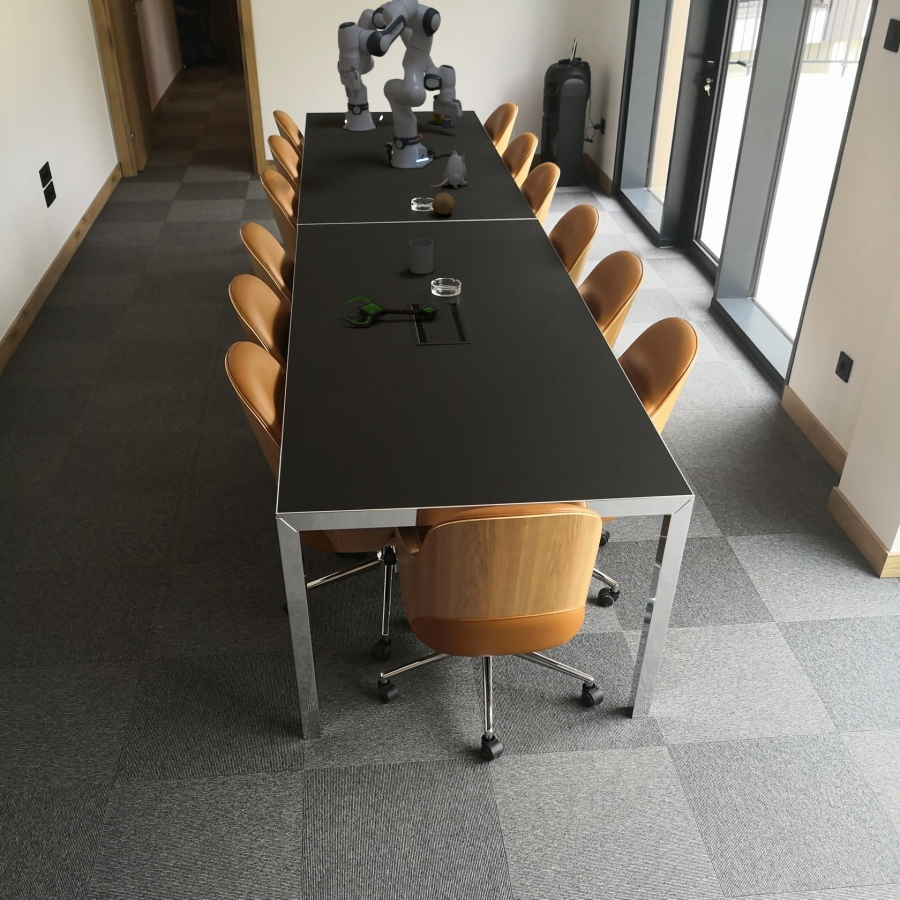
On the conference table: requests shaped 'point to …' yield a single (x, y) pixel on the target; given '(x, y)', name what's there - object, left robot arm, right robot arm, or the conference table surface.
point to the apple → (439, 118)
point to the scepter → (384, 311)
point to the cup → (421, 256)
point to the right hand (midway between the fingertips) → (351, 99)
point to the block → (446, 123)
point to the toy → (454, 171)
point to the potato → (443, 203)
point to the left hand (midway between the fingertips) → (447, 123)
